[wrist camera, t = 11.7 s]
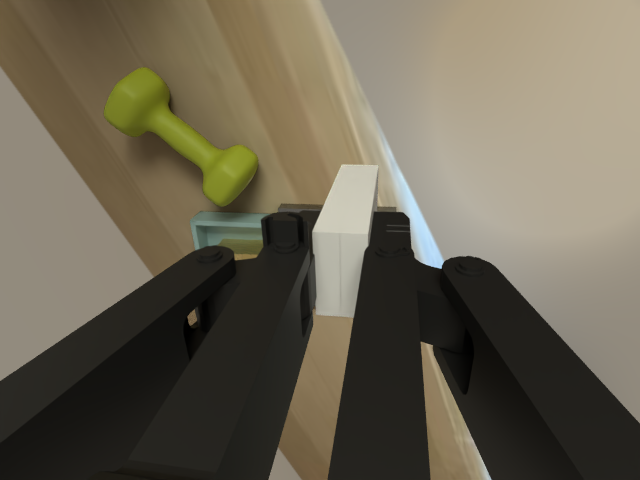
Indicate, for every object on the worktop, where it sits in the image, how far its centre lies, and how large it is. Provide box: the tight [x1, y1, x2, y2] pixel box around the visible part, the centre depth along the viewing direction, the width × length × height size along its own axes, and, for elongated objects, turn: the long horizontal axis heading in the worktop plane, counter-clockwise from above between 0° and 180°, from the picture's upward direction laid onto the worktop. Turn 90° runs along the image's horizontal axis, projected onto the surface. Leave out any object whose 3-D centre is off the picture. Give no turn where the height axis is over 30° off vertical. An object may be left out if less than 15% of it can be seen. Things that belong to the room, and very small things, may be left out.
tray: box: [190, 211, 270, 250], centre depth 53 cm, size 11×11×3 cm
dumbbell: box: [104, 67, 258, 206], centre depth 45 cm, size 16×8×7 cm, turn 51°
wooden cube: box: [242, 240, 263, 259], centre depth 51 cm, size 4×4×4 cm
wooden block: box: [217, 239, 252, 260], centre depth 52 cm, size 4×4×4 cm
